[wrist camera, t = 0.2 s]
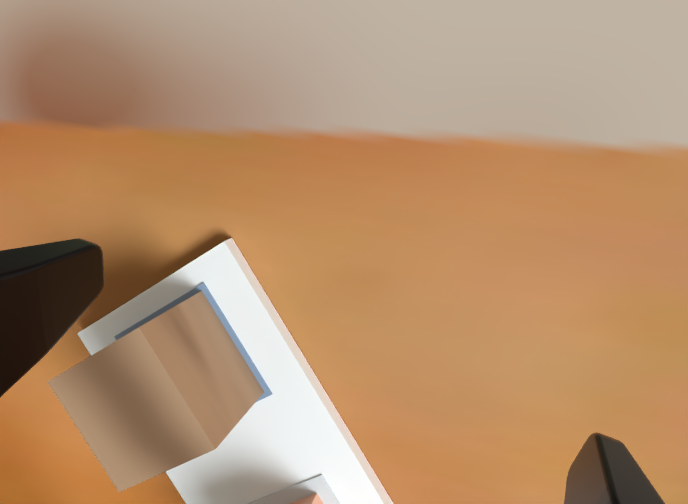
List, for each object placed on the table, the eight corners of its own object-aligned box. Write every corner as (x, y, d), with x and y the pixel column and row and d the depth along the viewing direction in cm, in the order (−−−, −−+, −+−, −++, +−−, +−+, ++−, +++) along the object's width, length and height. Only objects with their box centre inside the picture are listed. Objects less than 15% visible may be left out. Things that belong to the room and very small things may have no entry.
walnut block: (179, 432, 29) (119, 492, 24) (120, 339, 28) (47, 382, 24) (264, 391, 27) (215, 448, 22) (201, 290, 26) (138, 327, 22)
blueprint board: (269, 614, 31) (263, 627, 31) (87, 328, 30) (75, 334, 29) (432, 567, 28) (430, 581, 27) (231, 237, 26) (223, 241, 25)
